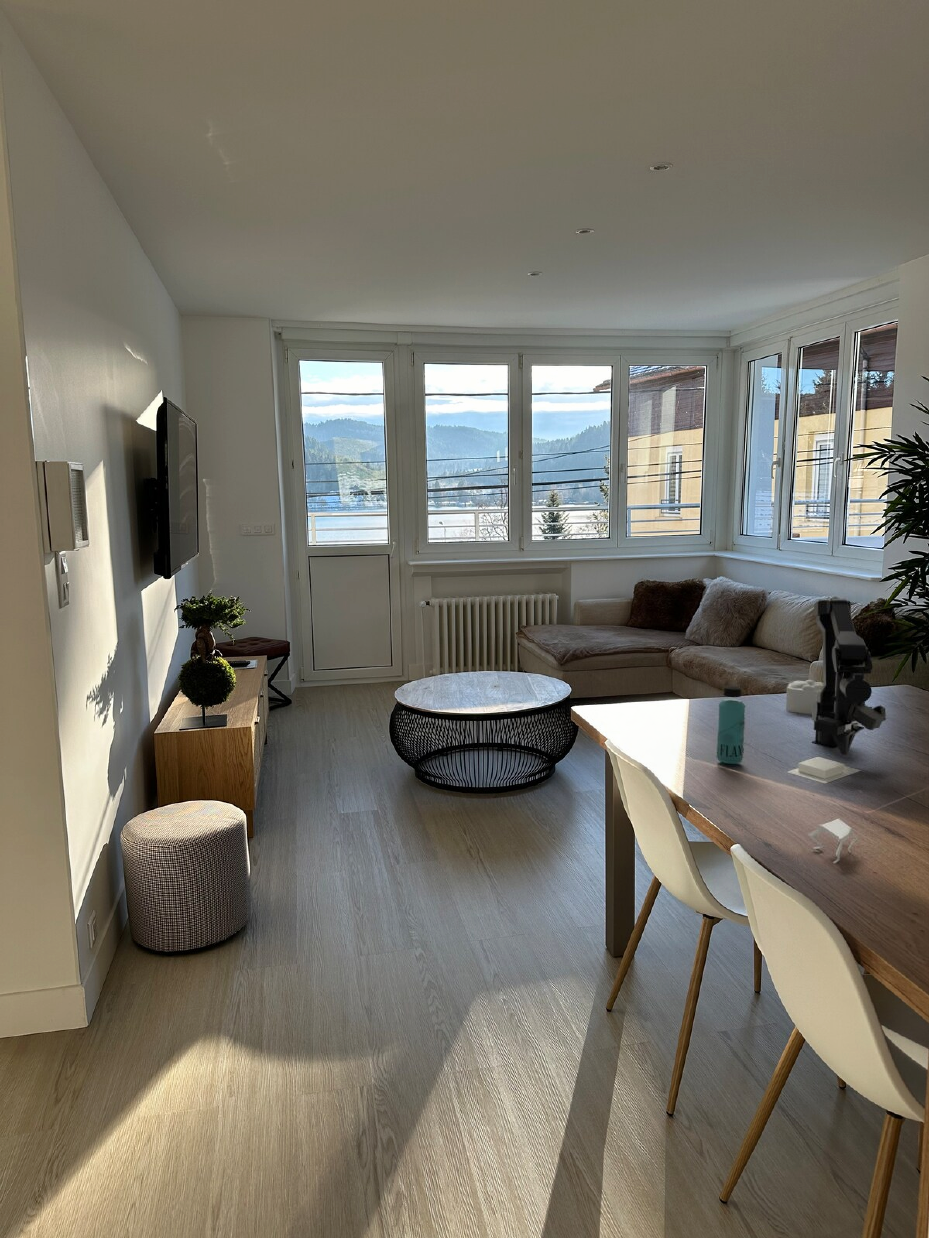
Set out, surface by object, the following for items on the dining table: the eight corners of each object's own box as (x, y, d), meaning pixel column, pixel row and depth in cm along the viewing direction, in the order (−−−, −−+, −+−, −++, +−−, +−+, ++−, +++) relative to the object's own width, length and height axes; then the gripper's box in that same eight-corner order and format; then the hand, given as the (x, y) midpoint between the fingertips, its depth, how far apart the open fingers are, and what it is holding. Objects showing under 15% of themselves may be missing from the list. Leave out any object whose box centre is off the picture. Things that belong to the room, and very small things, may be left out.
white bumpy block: (788, 703, 268) (789, 677, 267) (832, 707, 263) (834, 680, 262) (784, 711, 259) (786, 684, 258) (830, 716, 254) (832, 688, 252)
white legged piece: (802, 840, 166) (803, 816, 165) (846, 841, 165) (848, 817, 164) (821, 867, 154) (822, 841, 153) (869, 868, 153) (870, 843, 152)
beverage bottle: (715, 768, 208) (717, 689, 205) (716, 759, 214) (719, 683, 211) (742, 770, 206) (746, 690, 203) (743, 762, 212) (747, 684, 209)
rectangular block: (817, 764, 208) (798, 771, 204) (817, 756, 208) (798, 762, 203) (844, 772, 202) (824, 779, 198) (844, 763, 202) (825, 770, 198)
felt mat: (786, 773, 204) (786, 771, 203) (822, 761, 212) (822, 759, 212) (824, 784, 195) (824, 783, 195) (860, 772, 204) (860, 770, 204)
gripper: (858, 705, 194) (853, 770, 196) (900, 693, 204) (896, 755, 207) (814, 696, 203) (810, 758, 205) (857, 685, 214) (853, 744, 216)
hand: (844, 754), depth 208 cm, fingers closed
